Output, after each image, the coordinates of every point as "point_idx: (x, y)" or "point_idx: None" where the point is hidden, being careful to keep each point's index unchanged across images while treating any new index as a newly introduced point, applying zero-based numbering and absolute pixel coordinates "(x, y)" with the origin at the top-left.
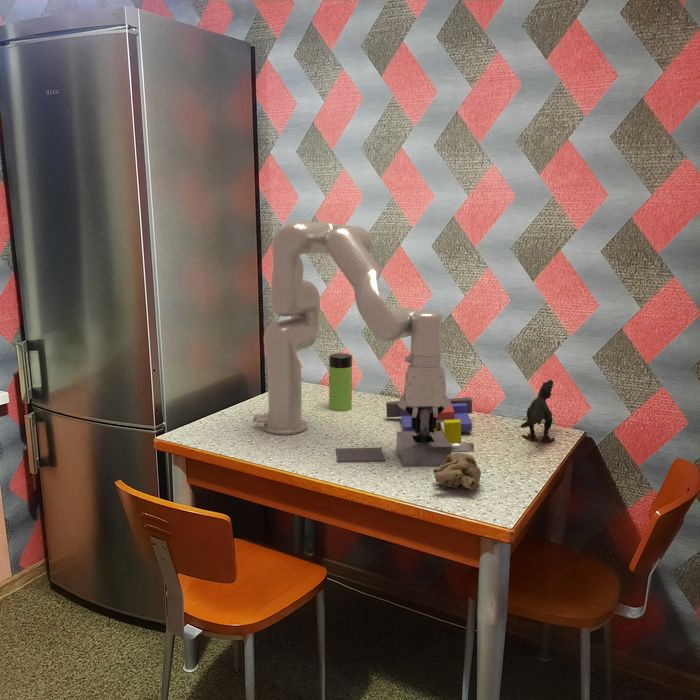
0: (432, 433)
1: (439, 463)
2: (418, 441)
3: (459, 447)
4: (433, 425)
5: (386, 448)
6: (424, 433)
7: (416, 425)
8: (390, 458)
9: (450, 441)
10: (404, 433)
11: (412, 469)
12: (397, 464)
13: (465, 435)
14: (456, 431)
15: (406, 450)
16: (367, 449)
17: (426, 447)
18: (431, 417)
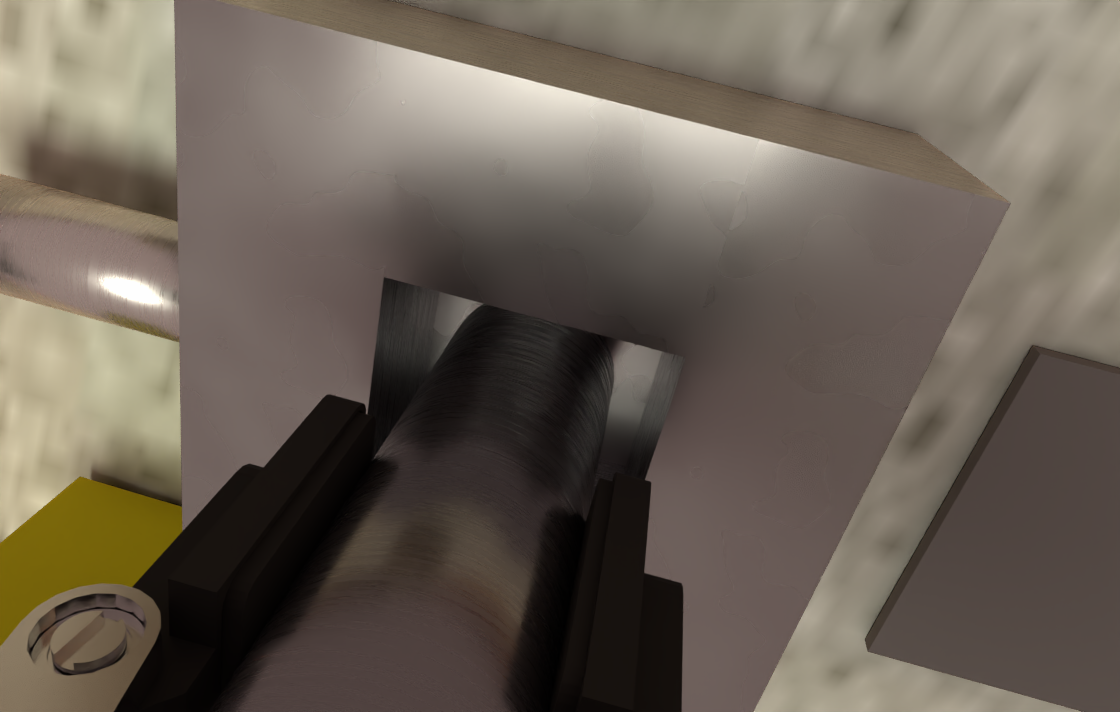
0: None
1: (452, 22)
2: (596, 407)
3: (86, 217)
4: (279, 467)
5: (802, 635)
6: (500, 419)
7: (629, 568)
8: (911, 409)
9: (161, 526)
10: None
11: (846, 3)
12: None
13: None
14: (28, 577)
15: (936, 171)
16: (1032, 659)
17: (601, 96)
18: (229, 642)
